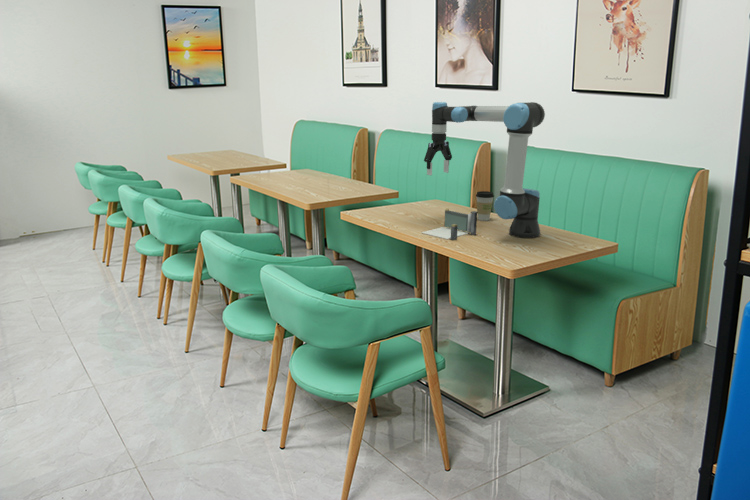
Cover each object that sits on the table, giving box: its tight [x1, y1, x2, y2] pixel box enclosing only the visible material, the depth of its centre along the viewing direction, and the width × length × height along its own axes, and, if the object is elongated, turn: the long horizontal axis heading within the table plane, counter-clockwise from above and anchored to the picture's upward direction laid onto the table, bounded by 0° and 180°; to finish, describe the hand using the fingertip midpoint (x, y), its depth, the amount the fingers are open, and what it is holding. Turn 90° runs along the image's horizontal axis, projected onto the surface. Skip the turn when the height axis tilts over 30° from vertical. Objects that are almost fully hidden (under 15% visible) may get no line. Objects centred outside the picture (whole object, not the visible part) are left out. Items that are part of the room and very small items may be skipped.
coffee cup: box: [475, 190, 495, 222], centre depth 340 cm, size 10×10×15 cm
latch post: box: [450, 224, 458, 241], centre depth 299 cm, size 2×3×7 cm
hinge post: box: [469, 210, 478, 236], centre depth 308 cm, size 3×3×12 cm
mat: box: [420, 226, 470, 240], centre depth 312 cm, size 17×17×1 cm
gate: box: [444, 207, 471, 233], centre depth 315 cm, size 16×2×10 cm, turn 44°
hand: (437, 173), depth 326 cm, fingers open, 13 cm apart
